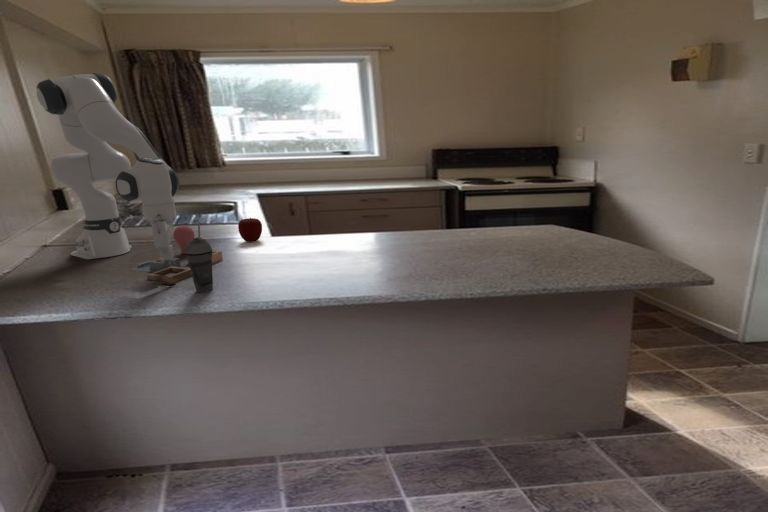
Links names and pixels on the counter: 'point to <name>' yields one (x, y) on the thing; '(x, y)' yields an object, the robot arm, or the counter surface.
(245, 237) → the apple
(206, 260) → the beverage cup
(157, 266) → the cradle
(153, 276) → the tray
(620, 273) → the counter surface
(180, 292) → the counter surface
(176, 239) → the light bulb
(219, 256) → the orange brown square block
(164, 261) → the cell
